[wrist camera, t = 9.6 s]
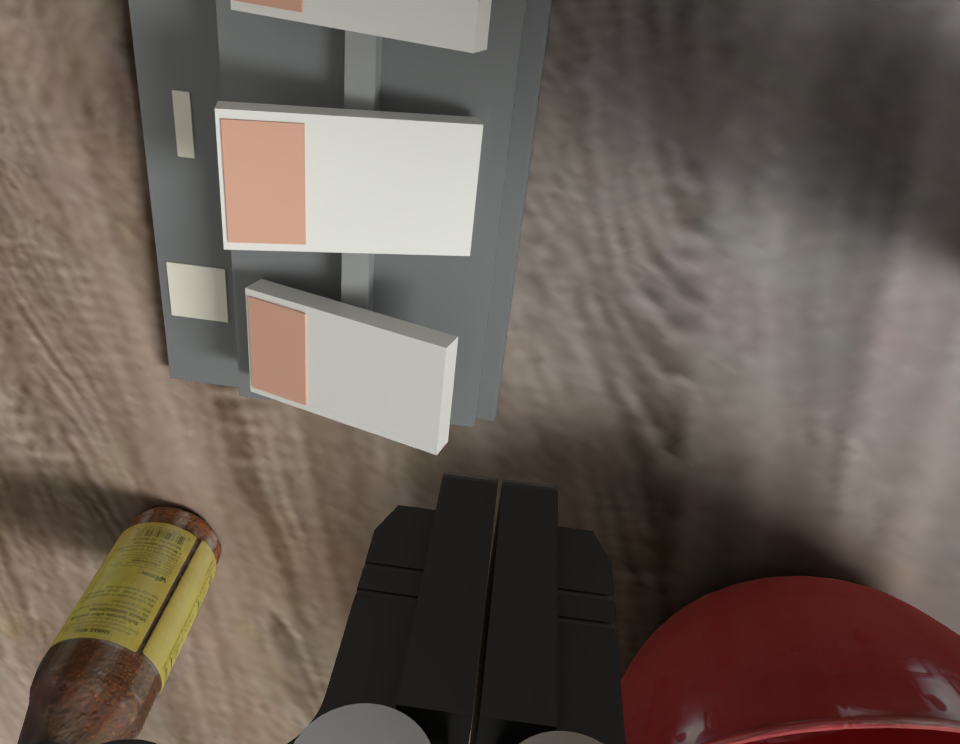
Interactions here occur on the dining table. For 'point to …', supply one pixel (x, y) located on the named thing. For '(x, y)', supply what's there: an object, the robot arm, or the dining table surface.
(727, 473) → the dining table surface
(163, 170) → the switch box
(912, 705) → the mixing bowl
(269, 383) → the switch
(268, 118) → the switch
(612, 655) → the robot arm
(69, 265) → the dining table surface
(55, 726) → the sauce bottle
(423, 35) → the switch
